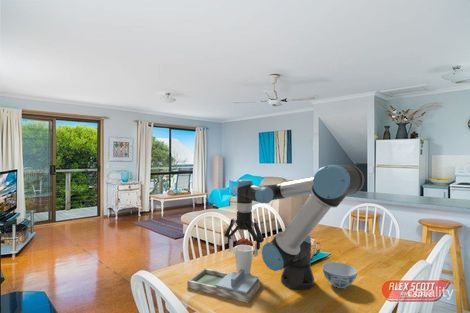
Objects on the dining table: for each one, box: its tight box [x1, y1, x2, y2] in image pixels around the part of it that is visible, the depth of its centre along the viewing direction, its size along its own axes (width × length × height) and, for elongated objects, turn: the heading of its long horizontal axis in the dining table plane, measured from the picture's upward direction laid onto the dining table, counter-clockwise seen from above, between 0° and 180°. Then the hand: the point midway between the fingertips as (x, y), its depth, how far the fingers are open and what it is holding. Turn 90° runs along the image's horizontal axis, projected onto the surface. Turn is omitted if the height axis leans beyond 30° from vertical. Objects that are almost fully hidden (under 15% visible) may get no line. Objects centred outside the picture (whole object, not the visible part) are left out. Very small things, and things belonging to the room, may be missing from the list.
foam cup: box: [233, 245, 254, 275], centre depth 135 cm, size 10×9×13 cm
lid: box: [216, 269, 260, 294], centre depth 119 cm, size 14×15×4 cm
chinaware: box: [321, 261, 358, 289], centre depth 125 cm, size 15×15×8 cm
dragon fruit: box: [235, 237, 254, 247], centre depth 168 cm, size 8×8×12 cm
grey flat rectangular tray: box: [186, 268, 261, 304], centre depth 122 cm, size 29×15×3 cm, turn 66°
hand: (243, 253), depth 136 cm, fingers open, 13 cm apart
